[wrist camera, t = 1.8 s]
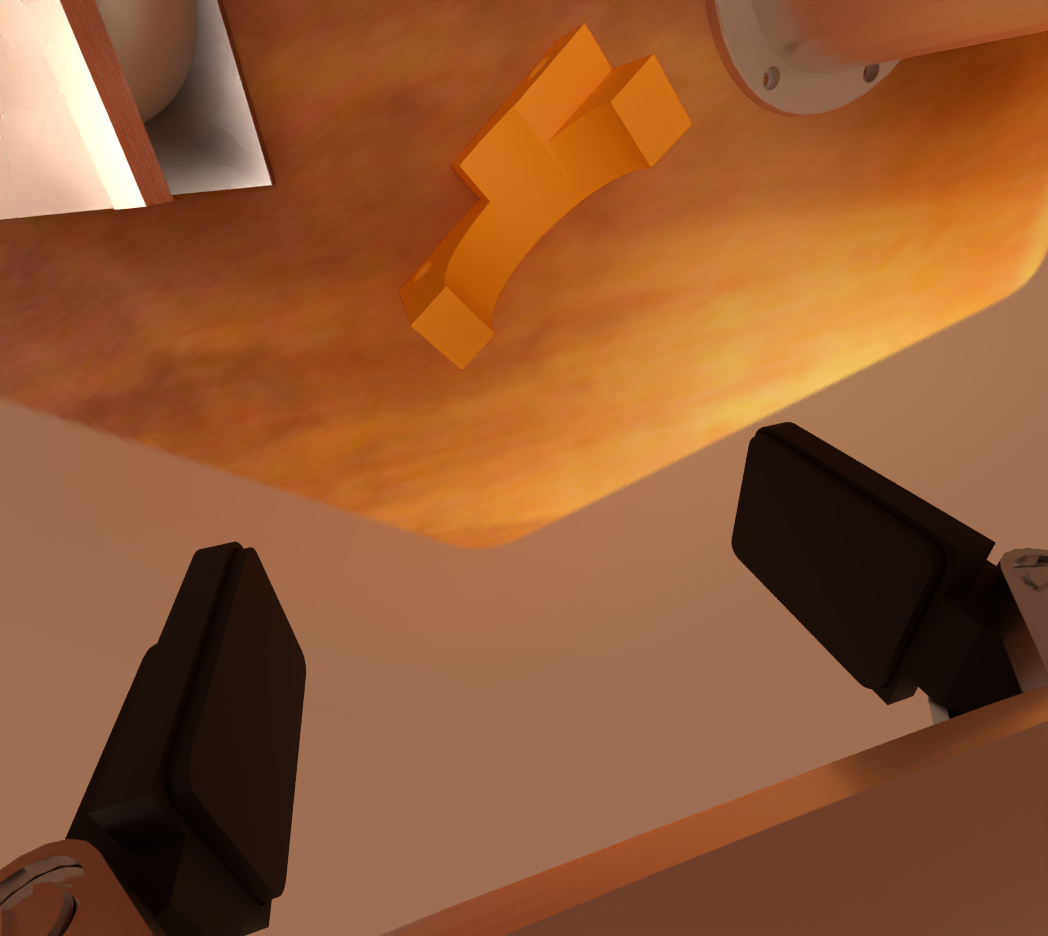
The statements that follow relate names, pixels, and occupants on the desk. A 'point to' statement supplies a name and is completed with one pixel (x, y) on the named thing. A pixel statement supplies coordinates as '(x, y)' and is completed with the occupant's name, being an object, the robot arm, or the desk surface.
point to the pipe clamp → (538, 179)
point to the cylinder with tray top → (121, 105)
